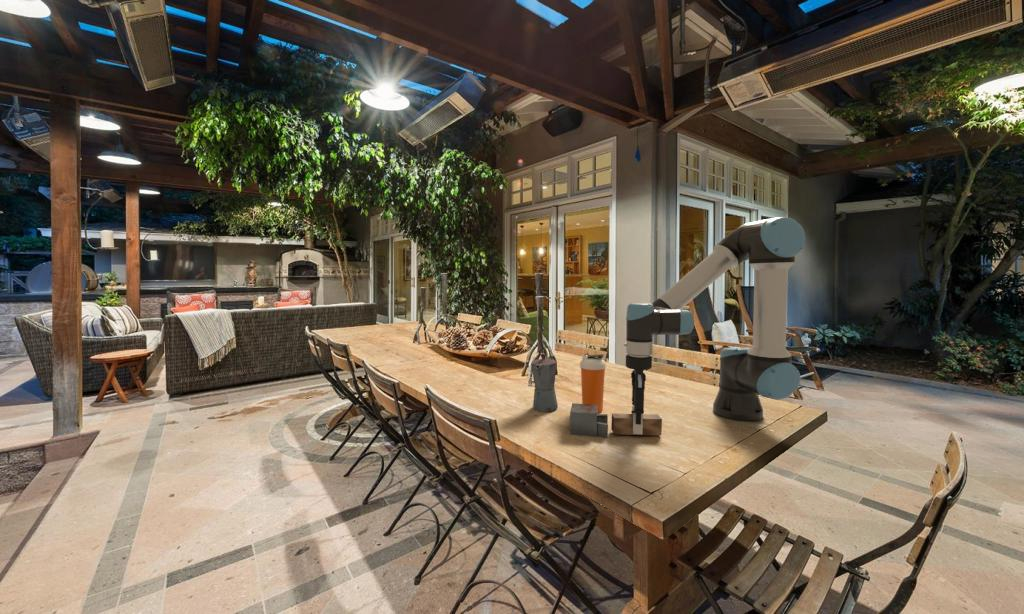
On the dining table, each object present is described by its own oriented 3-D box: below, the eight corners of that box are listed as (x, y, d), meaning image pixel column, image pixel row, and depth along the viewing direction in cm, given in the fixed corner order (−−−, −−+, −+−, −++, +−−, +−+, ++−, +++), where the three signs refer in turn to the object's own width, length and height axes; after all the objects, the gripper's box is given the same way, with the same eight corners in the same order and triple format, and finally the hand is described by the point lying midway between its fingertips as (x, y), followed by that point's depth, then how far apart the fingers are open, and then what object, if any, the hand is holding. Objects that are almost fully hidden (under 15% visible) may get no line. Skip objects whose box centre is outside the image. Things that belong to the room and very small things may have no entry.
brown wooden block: (657, 430, 125) (657, 414, 125) (661, 435, 121) (662, 419, 121) (611, 429, 126) (611, 413, 125) (614, 434, 122) (614, 418, 121)
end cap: (607, 426, 130) (607, 404, 129) (607, 438, 121) (607, 415, 120) (572, 423, 133) (572, 402, 132) (569, 434, 123) (570, 412, 123)
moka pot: (525, 412, 143) (525, 357, 141) (539, 400, 157) (539, 349, 156) (551, 416, 139) (551, 358, 138) (563, 402, 154) (563, 350, 152)
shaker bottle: (605, 414, 140) (606, 357, 139) (579, 413, 142) (579, 357, 140) (604, 406, 149) (605, 352, 147) (580, 405, 151) (580, 352, 149)
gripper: (624, 348, 131) (622, 419, 133) (627, 360, 114) (625, 441, 116) (648, 349, 129) (646, 421, 131) (655, 361, 112) (653, 443, 114)
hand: (636, 430), depth 123 cm, fingers closed on brown wooden block, 5 cm apart
